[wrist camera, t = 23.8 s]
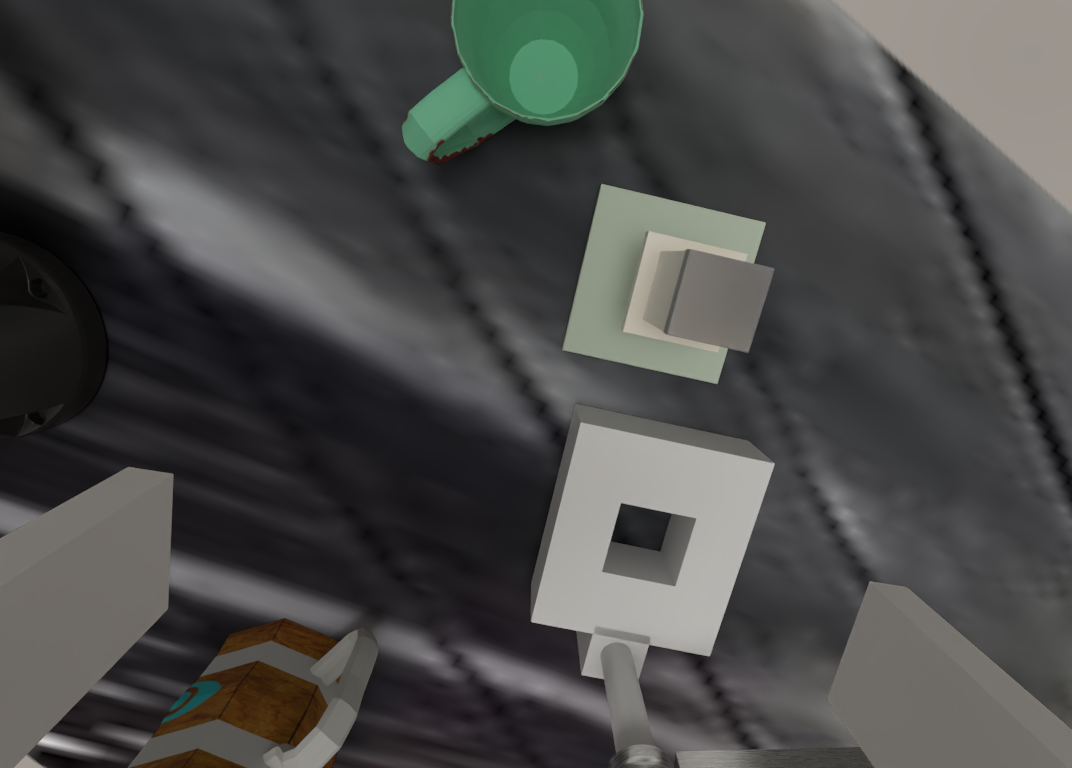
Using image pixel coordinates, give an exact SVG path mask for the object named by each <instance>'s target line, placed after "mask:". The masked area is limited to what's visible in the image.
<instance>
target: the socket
mask: <svg viewBox="0 0 1072 768" xmlns="http://www.w3.org/2000/svg"><path fill="white" fill-rule="evenodd" d="M774 465H775V463H774V462H772V461H771V460H770V459H769V458H768V457H767V456H765V455H764V454H763V453H762V452H761V451H760V450H758V449H757V448H756V447H755V446H754V445H752V444H751V443H750V442H749V441H747V440H743V439H738V438H733V437H729V436H724V435H719V434H715V433H710V432H706V431H701V430H696V429H692V428H687V427H682V426H678V425H673V424H668V423H664V422H659V421H654V420H650V419H645V418H640V417H636V416H631V415H626V414H622V413H617V412H612V411H608V410H603V409H598V408H594V407H589V406H584V405H580V404H575V407H574V412H573V416H572V420H571V424H570V428H569V432H568V436H567V440H566V444H565V448H564V452H563V456H562V460H561V464H560V468H559V472H558V476H557V481H556V485H555V489H554V493H553V497H552V501H551V505H550V509H549V513H548V517H547V521H546V525H545V529H544V533H543V537H542V541H541V546H540V550H539V554H538V558H537V562H536V566H535V570H534V574H533V578H532V582H531V622H534V623H539V624H544V625H549V626H555V627H560V628H565V629H570V630H575V631H577V641H578V650H579V659H580V667H581V675H584V676H590V677H595V678H600V679H604V682H605V688H606V694H607V700H608V706H609V712H610V718H611V724H612V730H613V736H614V742H615V748H616V753H618V752H619V751H621V750H622V749H624V748H627V747H629V746H633V745H650V746H654V742H653V738H652V734H651V730H650V726H649V722H648V717H647V713H646V709H645V705H644V701H643V697H642V693H641V689H640V685H639V681H638V679H639V676H640V673H641V669H642V666H643V663H644V660H645V656H646V653H647V650H648V647H649V645H653V646H658V647H663V648H669V649H674V650H679V651H684V652H689V653H695V654H700V655H705V656H710V654H711V651H712V648H713V645H714V642H715V639H716V636H717V634H718V631H719V628H720V625H721V622H722V619H723V616H724V613H725V610H726V607H727V604H728V601H729V598H730V595H731V592H732V589H733V586H734V583H735V580H736V577H737V574H738V571H739V568H740V565H741V562H742V559H743V557H744V554H745V551H746V548H747V545H748V542H749V539H750V536H751V533H752V530H753V527H754V524H755V521H756V518H757V515H758V512H759V509H760V506H761V503H762V500H763V497H764V494H765V491H766V488H767V485H768V483H769V480H770V477H771V474H772V471H773V468H774ZM621 503H624V504H629V505H634V506H638V507H643V508H648V509H653V510H658V511H663V512H668V513H672V514H671V517H670V521H669V524H668V527H667V531H666V534H665V537H664V541H663V544H662V547H661V551H655V550H650V549H646V548H641V547H636V546H631V545H626V544H621V543H616V542H611V537H612V534H613V530H614V526H615V523H616V519H617V515H618V512H619V508H620V505H621ZM654 747H655V746H654Z"/></svg>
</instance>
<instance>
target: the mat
mask: <svg viewBox="0 0 1072 768" xmlns="http://www.w3.org/2000/svg"><path fill="white" fill-rule="evenodd" d="M765 225H766V223H765V222H761V221H756V220H752V219H748V218H744V217H739V216H735V215H731V214H727V213H723V212H718V211H714V210H710V209H706V208H701V207H697V206H693V205H689V204H685V203H680V202H676V201H672V200H668V199H663V198H659V197H655V196H651V195H647V194H642V193H638V192H634V191H630V190H625V189H621V188H617V187H613V186H609V185H604V184H601V185H600V189H599V194H598V198H597V202H596V206H595V211H594V215H593V219H592V223H591V228H590V232H589V236H588V240H587V245H586V249H585V253H584V257H583V262H582V266H581V270H580V274H579V279H578V283H577V287H576V291H575V296H574V300H573V304H572V308H571V313H570V317H569V321H568V325H567V330H566V334H565V338H564V342H563V347H562V350H565V351H569V352H574V353H579V354H583V355H588V356H592V357H597V358H601V359H606V360H610V361H615V362H620V363H624V364H629V365H633V366H638V367H642V368H647V369H651V370H656V371H660V372H665V373H670V374H674V375H679V376H683V377H688V378H692V379H697V380H701V381H706V382H711V383H715V384H717V383H718V380H719V376H720V373H721V370H722V367H723V363H724V360H725V357H726V353H727V350H728V348H724V347H720V348H719V352H718V353H717V352H713V351H708V350H704V349H699V348H695V347H690V346H686V345H681V344H677V343H672V342H668V341H663V340H659V339H654V338H650V337H645V336H641V335H636V334H632V333H627V332H623V331H622V330H621V326H622V322H623V318H624V314H625V310H626V306H627V302H628V298H629V295H630V291H631V287H632V283H633V279H634V275H635V271H636V267H637V263H638V260H639V256H640V252H641V248H642V244H643V240H644V236H645V232H647V231H651V232H655V233H659V234H663V235H668V236H672V237H676V238H681V239H685V240H689V241H693V242H698V243H702V244H706V245H711V246H715V247H719V248H724V249H728V250H732V251H736V252H741V253H745V254H748V255H747V258H746V261H745V262H749V263H753V264H754V261H755V258H756V254H757V251H758V248H759V244H760V241H761V238H762V235H763V231H764V228H765Z"/></svg>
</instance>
